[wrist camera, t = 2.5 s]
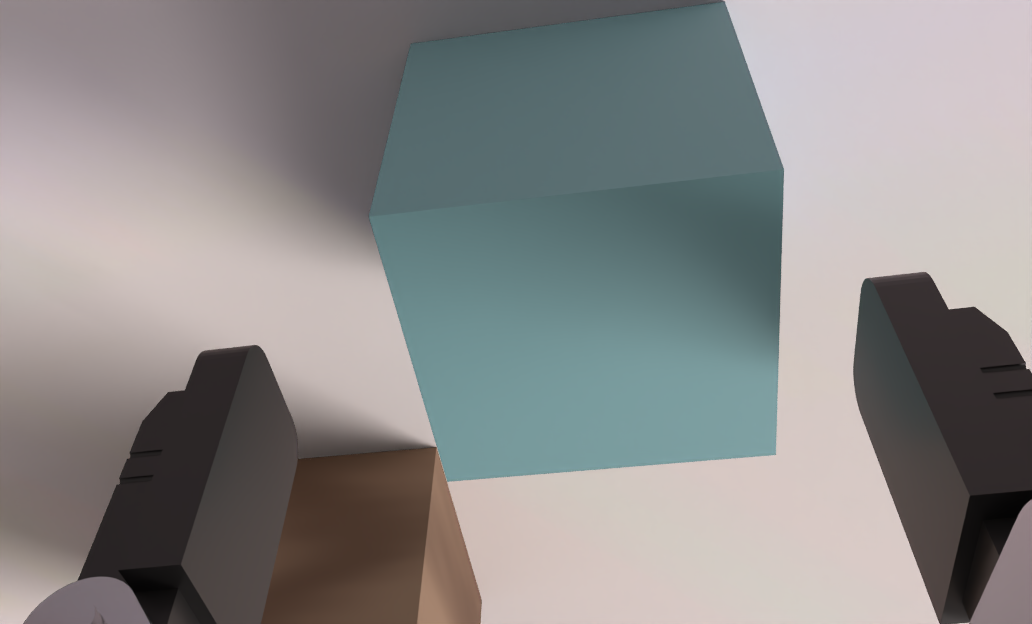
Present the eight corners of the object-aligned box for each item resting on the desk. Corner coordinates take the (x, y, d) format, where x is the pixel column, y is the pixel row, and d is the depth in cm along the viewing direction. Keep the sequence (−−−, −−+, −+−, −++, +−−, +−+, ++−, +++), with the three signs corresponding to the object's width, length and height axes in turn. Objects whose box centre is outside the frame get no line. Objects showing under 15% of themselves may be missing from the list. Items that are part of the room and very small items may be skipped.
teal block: (724, 0, 15) (784, 169, 11) (727, 254, 18) (775, 454, 15) (411, 41, 16) (368, 215, 12) (467, 282, 19) (447, 481, 15)
